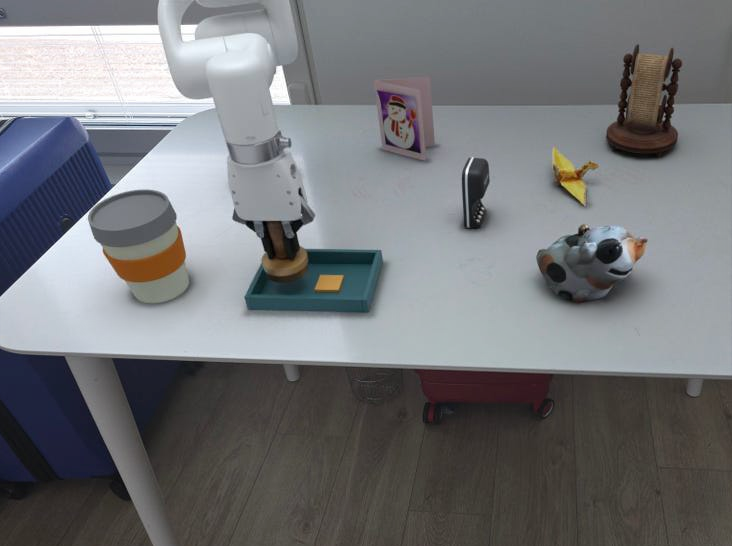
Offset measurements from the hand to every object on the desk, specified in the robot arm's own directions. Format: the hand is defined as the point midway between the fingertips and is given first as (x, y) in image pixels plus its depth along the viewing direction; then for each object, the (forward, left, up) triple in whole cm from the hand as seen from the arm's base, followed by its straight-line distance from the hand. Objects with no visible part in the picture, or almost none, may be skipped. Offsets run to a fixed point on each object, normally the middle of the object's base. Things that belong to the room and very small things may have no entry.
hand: (283, 254), depth 110 cm
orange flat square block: (+5, +3, -6) cm, 9 cm away
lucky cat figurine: (+41, +27, -7) cm, 50 cm away
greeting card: (-13, +49, -7) cm, 52 cm away
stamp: (0, 0, -3) cm, 3 cm away
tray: (+4, +2, -7) cm, 8 cm away
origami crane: (+23, +53, -7) cm, 58 cm away
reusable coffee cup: (-19, -12, -7) cm, 24 cm away
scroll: (+28, +76, -7) cm, 82 cm away
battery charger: (+15, +33, -7) cm, 37 cm away
